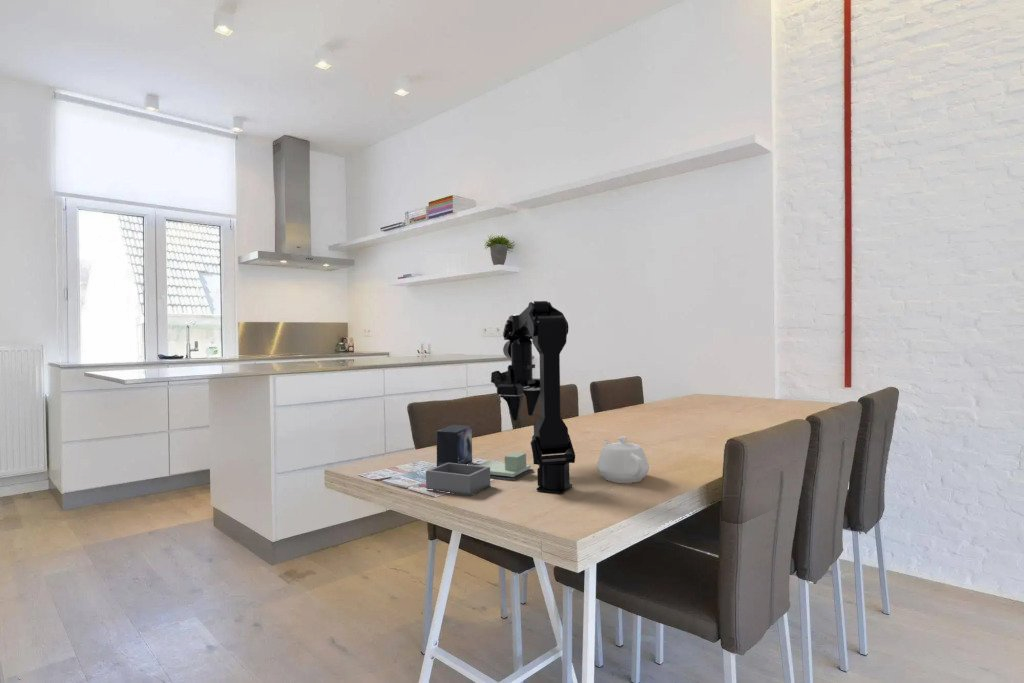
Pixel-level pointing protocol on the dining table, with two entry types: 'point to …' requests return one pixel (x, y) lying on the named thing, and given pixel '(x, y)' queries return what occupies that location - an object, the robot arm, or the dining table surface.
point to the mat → (511, 477)
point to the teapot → (622, 462)
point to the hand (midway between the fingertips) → (523, 417)
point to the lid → (508, 465)
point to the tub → (458, 478)
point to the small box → (454, 445)
